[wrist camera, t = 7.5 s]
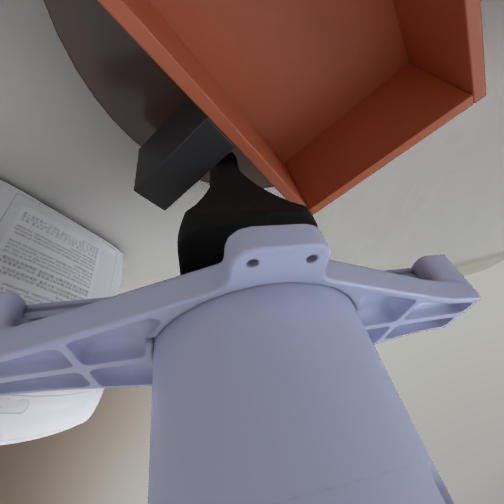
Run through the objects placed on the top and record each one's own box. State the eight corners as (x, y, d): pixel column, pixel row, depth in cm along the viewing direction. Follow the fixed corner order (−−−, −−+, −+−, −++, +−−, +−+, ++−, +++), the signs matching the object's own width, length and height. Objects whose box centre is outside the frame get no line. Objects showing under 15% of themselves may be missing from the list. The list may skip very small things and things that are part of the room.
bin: (415, 62, 15) (487, 97, 12) (232, 208, 20) (245, 263, 16) (286, -456, 6) (428, -921, 3) (13, 32, 11) (-54, 71, 8)
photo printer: (-66, 199, 16) (-306, 467, 8) (-25, 156, 15) (-256, 418, 7) (97, 276, 23) (60, 456, 15) (134, 251, 22) (116, 432, 14)
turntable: (683, -758, 5) (724, -813, 5) (420, 140, 20) (425, 145, 19) (-233, -469, 6) (-263, -501, 5) (165, 214, 20) (165, 220, 20)
